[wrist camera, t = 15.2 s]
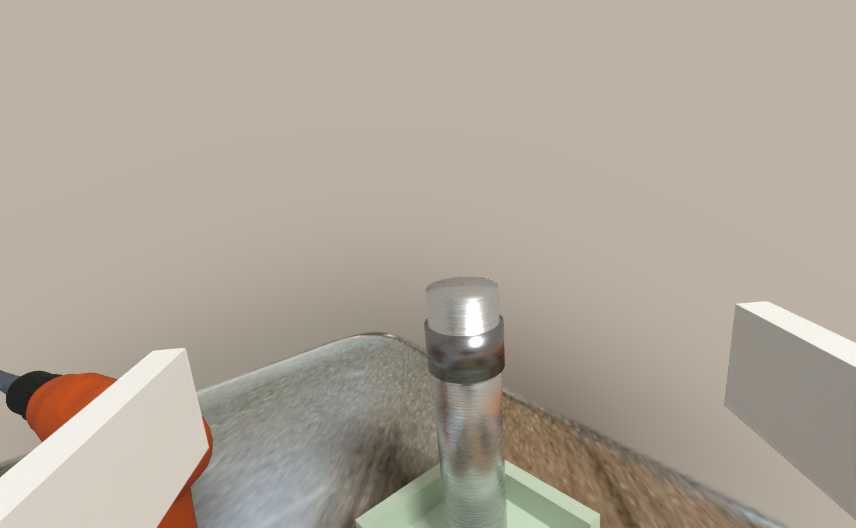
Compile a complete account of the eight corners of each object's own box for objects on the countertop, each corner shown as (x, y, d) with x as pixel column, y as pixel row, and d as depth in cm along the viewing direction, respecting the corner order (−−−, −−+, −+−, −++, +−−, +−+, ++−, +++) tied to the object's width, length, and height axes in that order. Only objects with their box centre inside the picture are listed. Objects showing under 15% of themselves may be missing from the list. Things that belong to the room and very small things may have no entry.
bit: (429, 545, 28) (405, 290, 23) (475, 508, 30) (461, 271, 26) (478, 591, 25) (461, 308, 20) (525, 545, 27) (519, 284, 23)
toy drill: (61, 500, 34) (11, 312, 30) (263, 603, 27) (239, 379, 23) (-22, 554, 30) (-94, 343, 25) (194, 693, 23) (148, 438, 19)
